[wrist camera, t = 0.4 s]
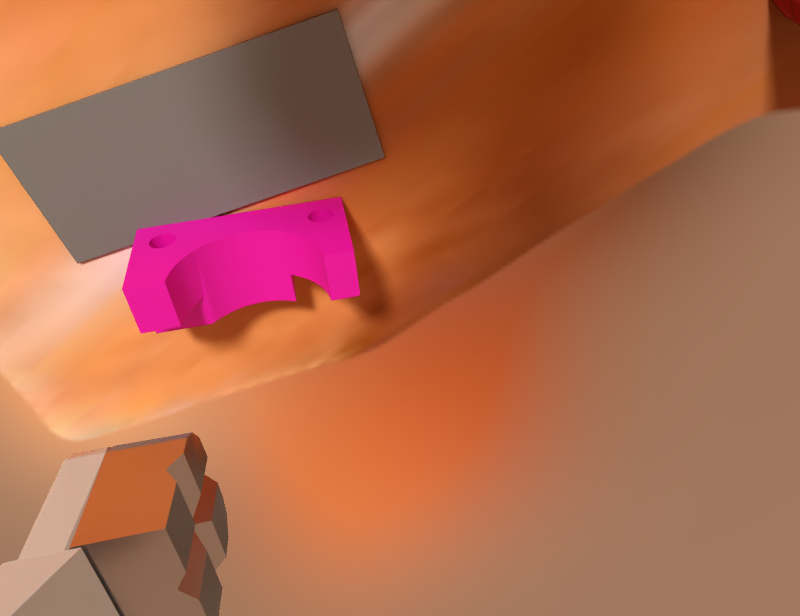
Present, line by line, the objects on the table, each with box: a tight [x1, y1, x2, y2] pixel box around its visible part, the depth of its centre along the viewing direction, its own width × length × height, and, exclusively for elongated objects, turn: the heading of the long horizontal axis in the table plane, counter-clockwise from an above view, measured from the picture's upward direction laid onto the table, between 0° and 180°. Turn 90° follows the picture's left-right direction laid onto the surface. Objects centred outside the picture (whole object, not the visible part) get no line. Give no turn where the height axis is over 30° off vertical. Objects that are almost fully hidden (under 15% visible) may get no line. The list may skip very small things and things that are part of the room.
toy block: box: [122, 197, 360, 333], centre depth 48 cm, size 15×6×8 cm, turn 95°
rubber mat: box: [0, 9, 385, 263], centre depth 46 cm, size 10×24×1 cm, turn 106°
